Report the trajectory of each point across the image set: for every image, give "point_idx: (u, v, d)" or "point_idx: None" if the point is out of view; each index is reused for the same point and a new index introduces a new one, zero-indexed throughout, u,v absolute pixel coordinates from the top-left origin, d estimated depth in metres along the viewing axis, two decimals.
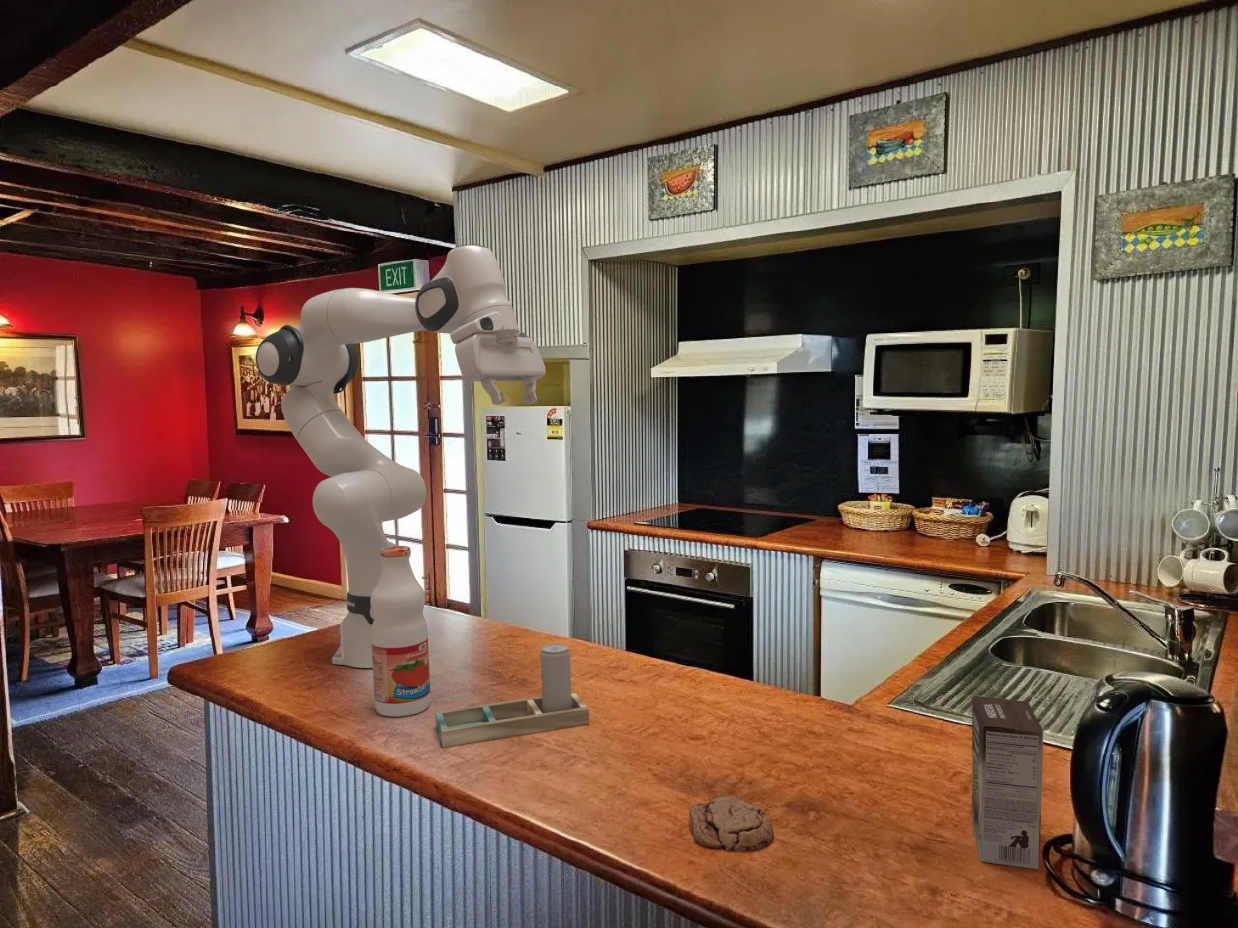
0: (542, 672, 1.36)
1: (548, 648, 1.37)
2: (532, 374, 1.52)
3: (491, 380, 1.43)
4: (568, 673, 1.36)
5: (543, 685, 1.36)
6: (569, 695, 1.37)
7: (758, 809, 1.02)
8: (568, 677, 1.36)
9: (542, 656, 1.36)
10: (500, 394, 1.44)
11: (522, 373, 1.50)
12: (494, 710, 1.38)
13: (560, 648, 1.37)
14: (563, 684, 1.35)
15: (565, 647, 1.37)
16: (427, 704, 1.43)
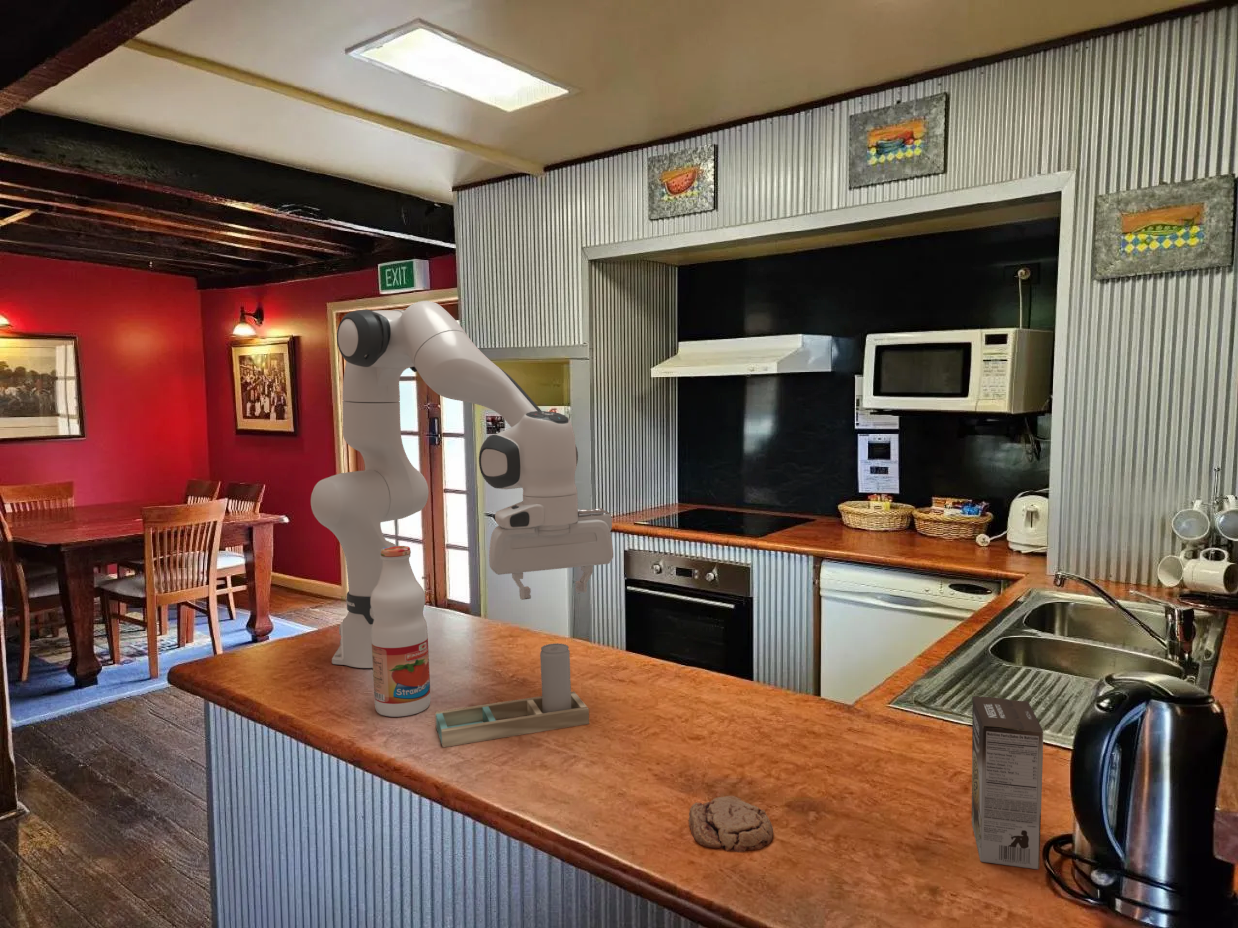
0: (542, 672, 1.36)
1: (548, 648, 1.37)
2: (585, 565, 1.36)
3: (516, 577, 1.33)
4: (568, 673, 1.36)
5: (543, 685, 1.36)
6: (569, 695, 1.37)
7: (758, 809, 1.02)
8: (568, 677, 1.36)
9: (542, 656, 1.36)
10: (525, 591, 1.34)
11: (568, 566, 1.35)
12: (494, 710, 1.38)
13: (560, 648, 1.37)
14: (563, 684, 1.35)
15: (565, 647, 1.37)
16: (427, 704, 1.43)
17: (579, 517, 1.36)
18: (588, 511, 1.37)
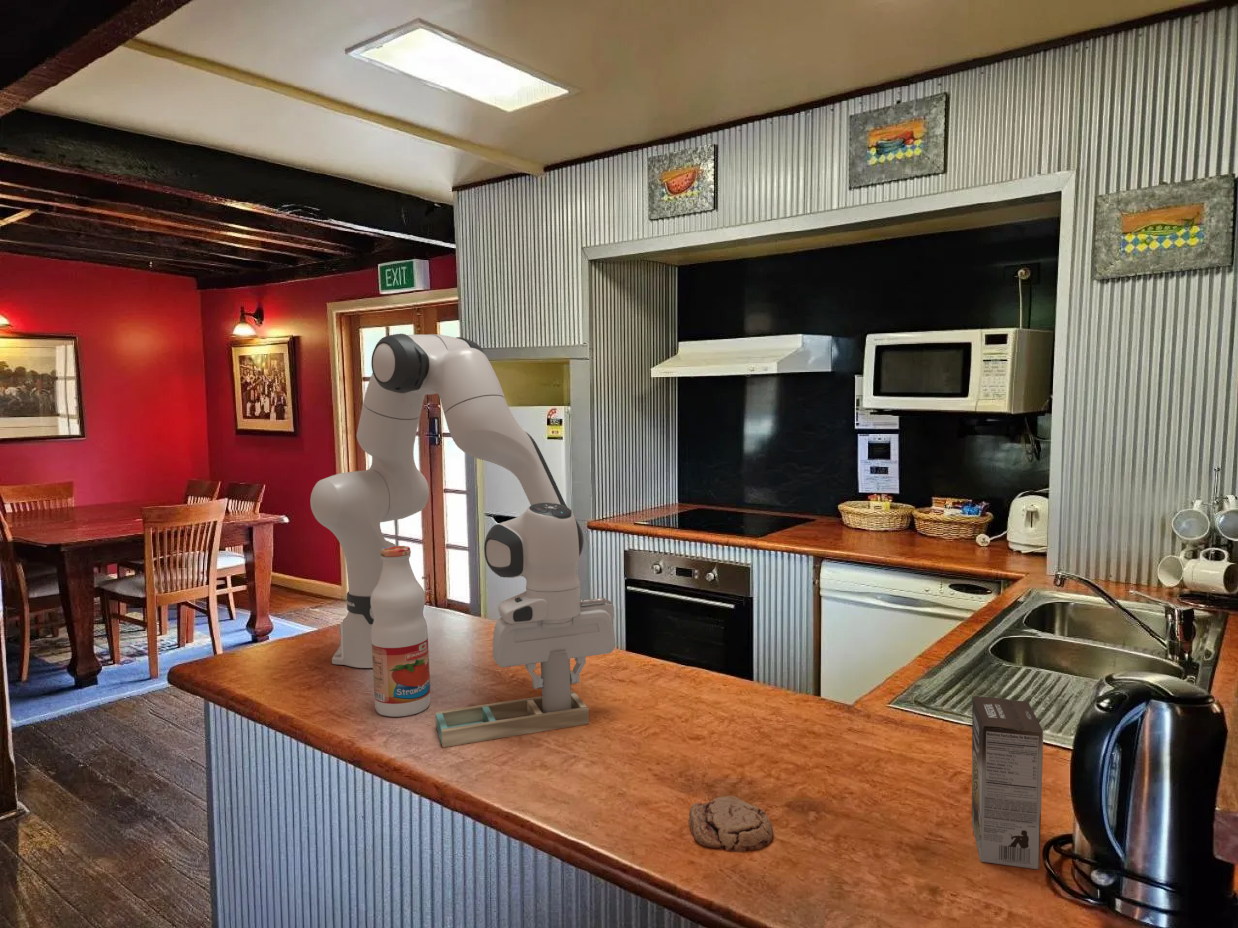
0: (542, 672, 1.36)
1: None
2: (587, 655, 1.37)
3: (529, 667, 1.35)
4: (568, 673, 1.36)
5: (543, 685, 1.36)
6: (569, 695, 1.37)
7: (758, 809, 1.02)
8: (568, 677, 1.36)
9: None
10: (538, 681, 1.35)
11: (571, 657, 1.36)
12: (494, 710, 1.38)
13: None
14: (563, 684, 1.35)
15: None
16: (427, 704, 1.43)
17: (582, 607, 1.38)
18: (591, 601, 1.38)
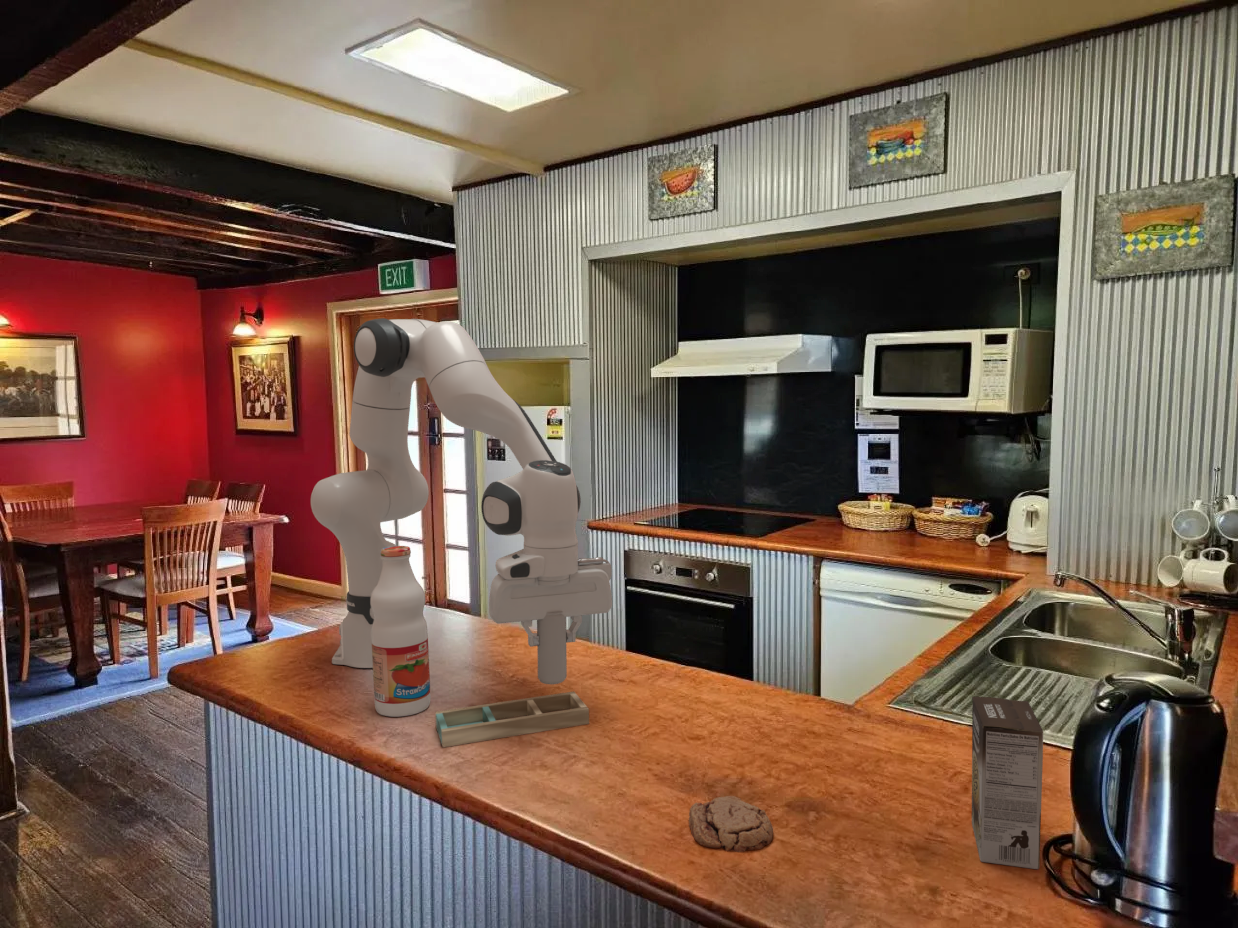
0: (538, 633, 1.36)
1: None
2: (583, 614, 1.37)
3: (525, 624, 1.34)
4: (564, 635, 1.36)
5: (539, 646, 1.36)
6: (565, 657, 1.37)
7: (758, 809, 1.02)
8: (564, 639, 1.36)
9: None
10: (534, 638, 1.35)
11: (567, 615, 1.36)
12: (494, 710, 1.38)
13: None
14: (560, 645, 1.35)
15: None
16: (427, 704, 1.43)
17: (579, 566, 1.37)
18: (588, 560, 1.37)
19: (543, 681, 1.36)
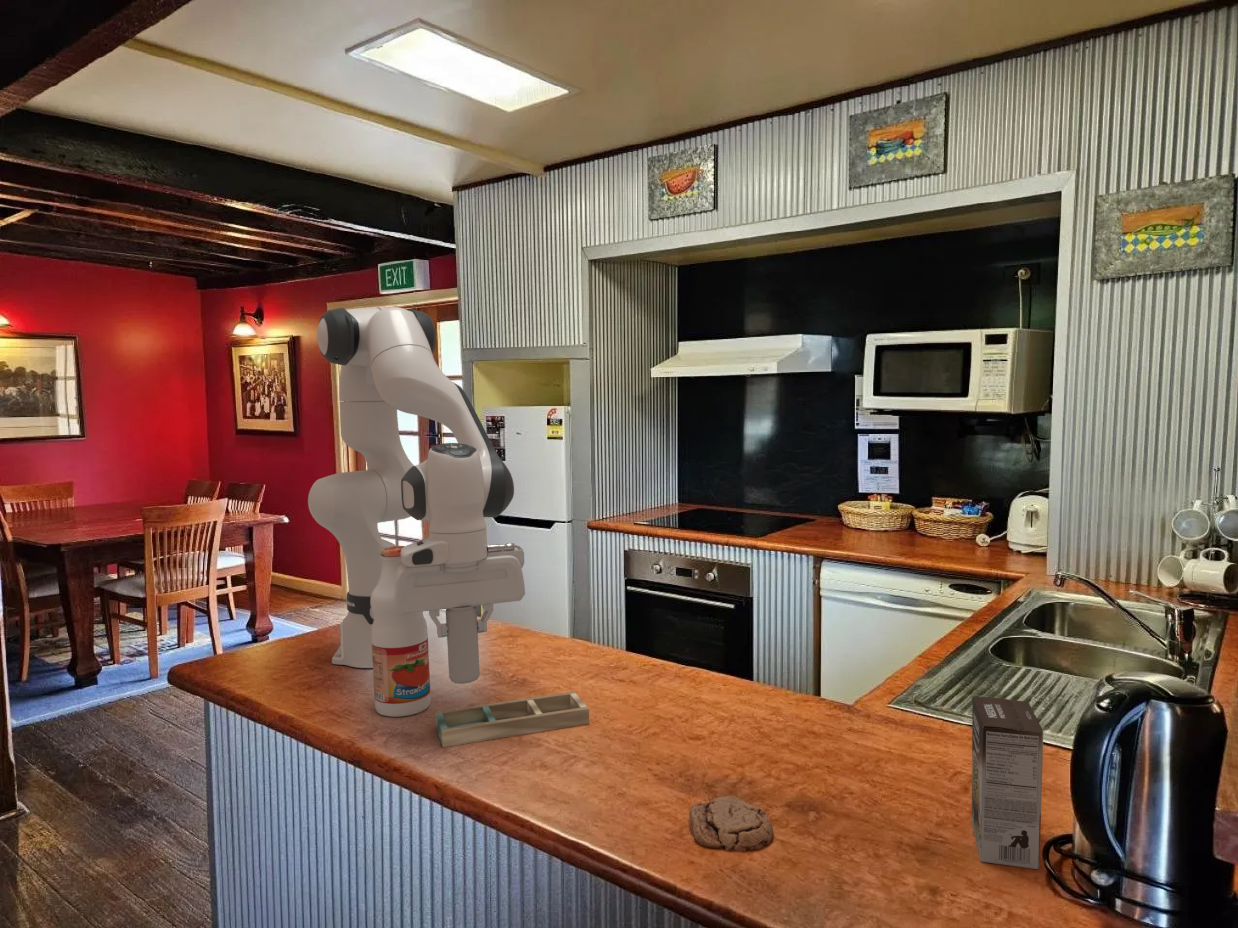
0: None
1: None
2: (494, 602, 1.31)
3: (432, 614, 1.29)
4: (475, 631, 1.31)
5: (448, 644, 1.30)
6: (476, 654, 1.31)
7: (758, 809, 1.02)
8: (475, 635, 1.31)
9: (447, 613, 1.30)
10: (442, 629, 1.30)
11: (477, 604, 1.30)
12: (494, 710, 1.38)
13: None
14: (470, 642, 1.30)
15: None
16: (427, 704, 1.43)
17: (489, 553, 1.32)
18: (499, 546, 1.32)
19: (454, 680, 1.30)
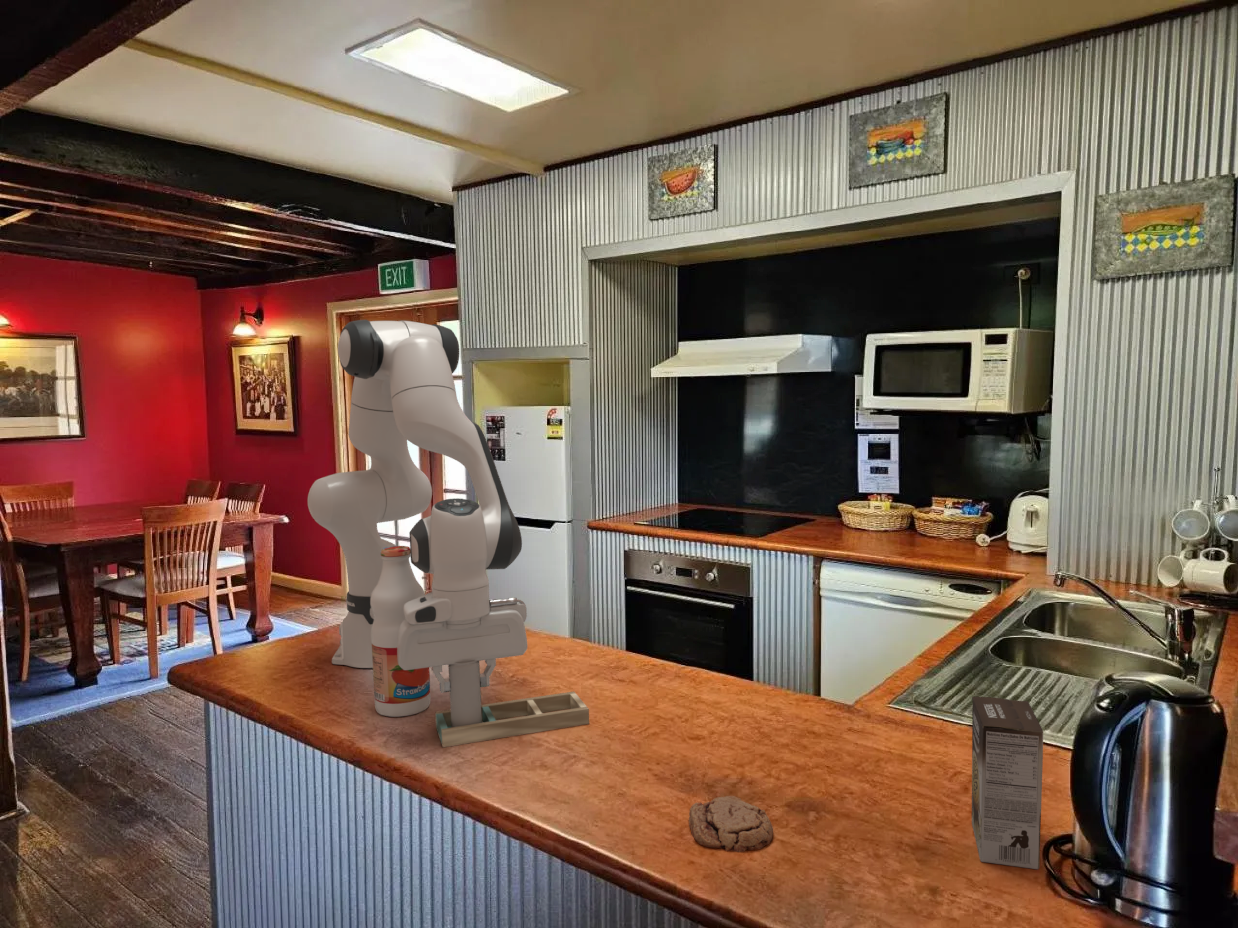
0: (450, 684, 1.31)
1: None
2: (497, 657, 1.32)
3: (435, 670, 1.29)
4: (477, 685, 1.31)
5: (451, 698, 1.31)
6: (479, 708, 1.32)
7: (758, 809, 1.02)
8: (477, 689, 1.31)
9: (450, 668, 1.30)
10: (445, 684, 1.30)
11: (479, 659, 1.31)
12: (494, 710, 1.38)
13: None
14: (472, 696, 1.30)
15: None
16: (427, 704, 1.43)
17: (491, 608, 1.32)
18: (501, 601, 1.33)
19: None
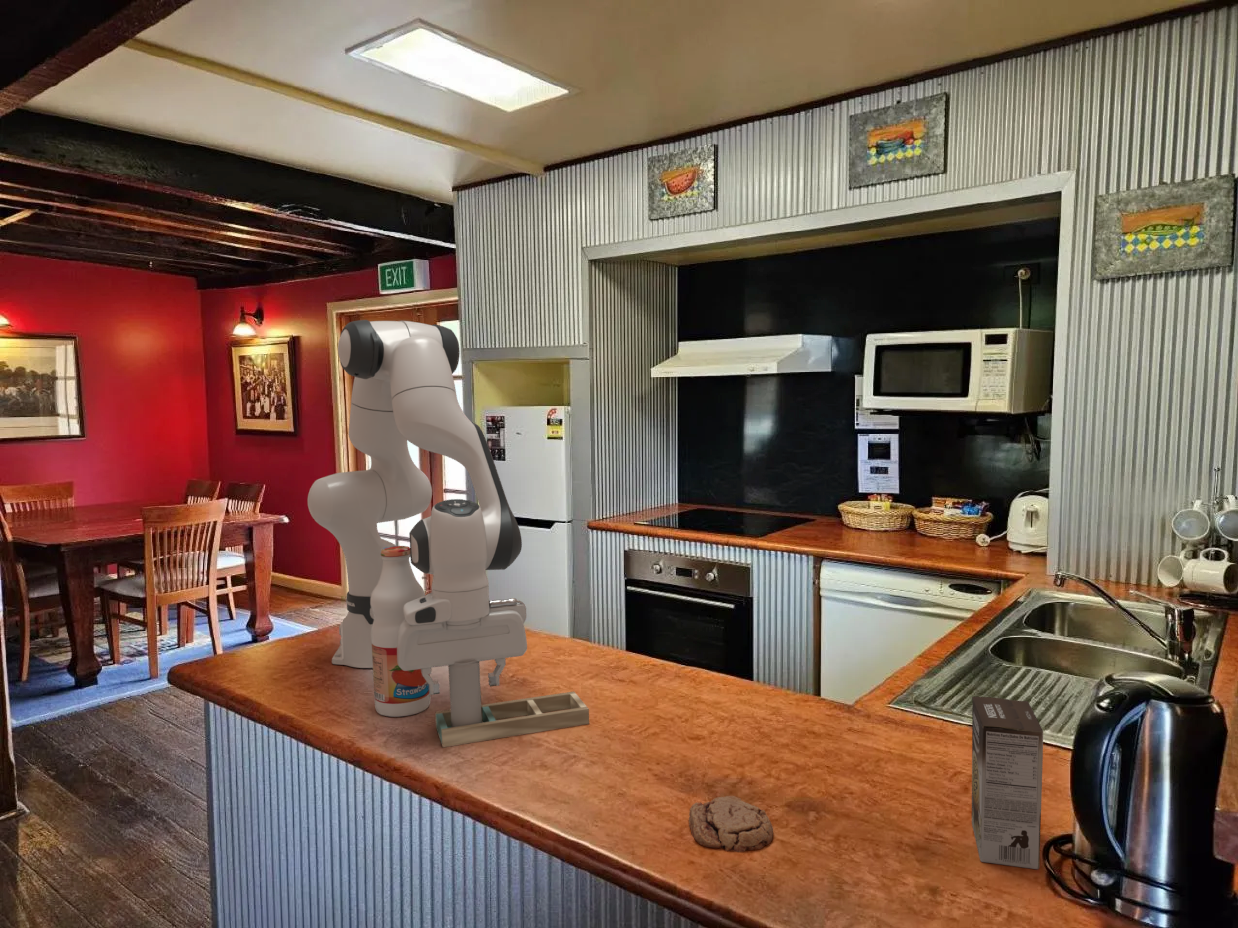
0: (450, 684, 1.31)
1: None
2: (496, 658, 1.32)
3: (423, 672, 1.29)
4: (477, 685, 1.31)
5: (451, 698, 1.31)
6: (479, 708, 1.32)
7: (758, 809, 1.02)
8: (477, 689, 1.31)
9: (450, 668, 1.30)
10: (434, 686, 1.30)
11: (479, 660, 1.31)
12: (494, 710, 1.38)
13: None
14: (472, 696, 1.30)
15: None
16: (427, 704, 1.43)
17: (491, 608, 1.32)
18: (501, 602, 1.33)
19: None
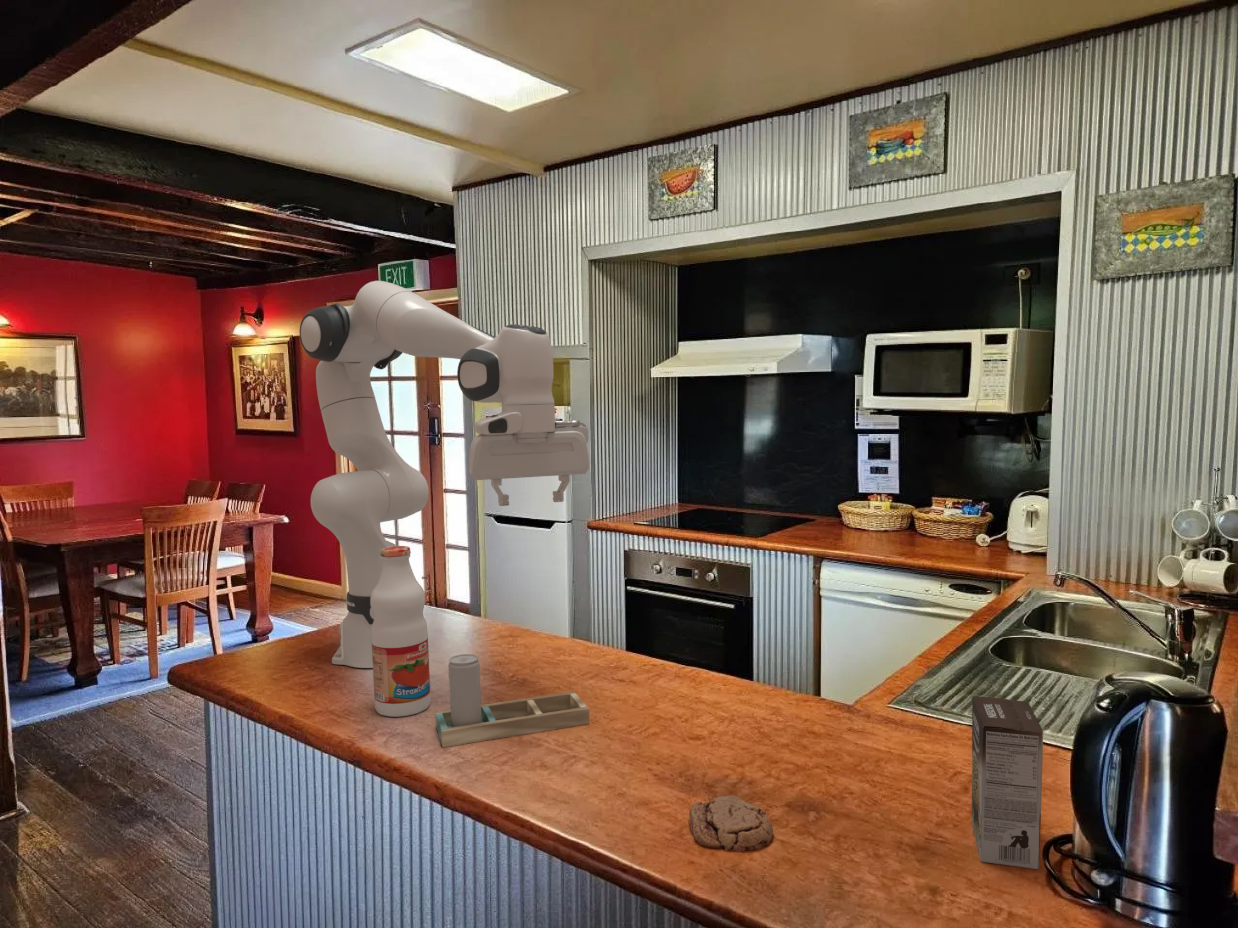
0: (450, 684, 1.31)
1: (456, 659, 1.31)
2: (561, 474, 1.40)
3: (495, 483, 1.37)
4: (477, 685, 1.31)
5: (451, 698, 1.31)
6: (479, 708, 1.32)
7: (758, 809, 1.02)
8: (477, 689, 1.31)
9: (450, 668, 1.30)
10: (504, 497, 1.38)
11: (545, 474, 1.40)
12: (494, 710, 1.38)
13: (469, 659, 1.31)
14: (472, 696, 1.30)
15: (474, 658, 1.32)
16: (427, 704, 1.43)
17: (556, 428, 1.41)
18: (565, 422, 1.41)
19: None
